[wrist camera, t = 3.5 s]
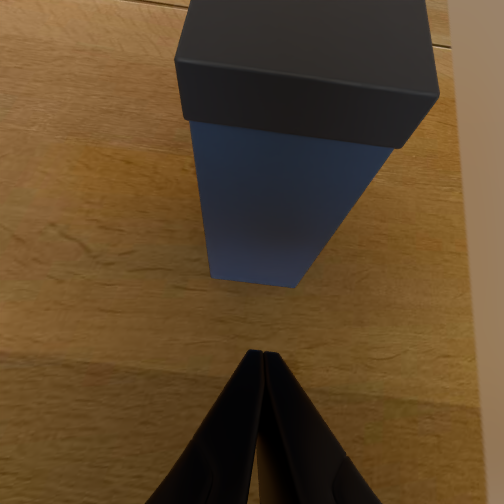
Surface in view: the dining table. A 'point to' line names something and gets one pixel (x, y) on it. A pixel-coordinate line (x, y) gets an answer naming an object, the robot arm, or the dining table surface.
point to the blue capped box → (295, 119)
